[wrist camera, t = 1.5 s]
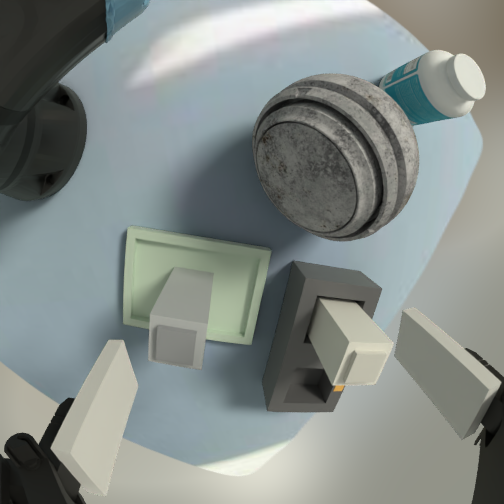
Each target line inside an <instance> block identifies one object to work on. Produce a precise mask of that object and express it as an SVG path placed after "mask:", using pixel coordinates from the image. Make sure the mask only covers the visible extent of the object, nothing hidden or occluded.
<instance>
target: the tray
mask: <svg viewBox="0 0 504 504" xmlns="http://www.w3.org/2000/svg"><path fill="white" fill-rule="evenodd" d="M271 252H272V251H271V250H270V248H267V247H261V246H255V245H249V244H243V243H237V242H231V241H224V240H218V239H212V238H206V237H200V236H194V235H188V234H182V233H175V232H169V231H163V230H157V229H151V228H144V227H138V226H130V227H128V229H127V240H126V253H125V269H124V294H123V324H126V325H130V326H135V327H140V328H145V329H149V323H150V313H151V311H152V309H153V307H154V305H155V303H156V301H157V299H158V297H159V295H160V294H161V292H162V290H163V288H164V286H165V284H166V282H167V280H168V278H169V276H170V275H171V273H172V271H173V269H174V267H181V268H187V269H193V270H199V271H205V272H211V273H214V276H213V284H212V293H211V301H210V310H209V319H208V327H207V334H206V339H208V340H215V341H222V342H229V343H237V344H245V345H251V343H252V339H253V334H254V330H255V325H256V321H257V316H258V312H259V307H260V303H261V298H262V294H263V289H264V284H265V280H266V275H267V270H268V266H269V261H270V256H271Z"/></svg>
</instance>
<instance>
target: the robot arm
mask: <svg viewBox="0 0 504 504" xmlns="http://www.w3.org/2000/svg"><path fill="white" fill-rule="evenodd" d="M149 3H150V0H0V193H2V194H4V195H7V196H10V197H12V198H15V199H18V200H23V201H32V200H37V199H42V198H46V197H48V196H51V195H52V194H54V193H56V192H57V191H58V190H60V189H61V188H62V187H63V186H64V185H65V184H66V183H67V182H68V180H69V179H70V178H71V176H72V175H73V173H74V172H75V170H76V168H77V166H78V164H79V162H80V159H81V157H82V154H83V150H84V147H85V142H86V134H87V122H86V114H85V110H84V107H83V104H82V102H81V100H80V99H79V97H78V96H77V94H76V93H75V92H74V91H73V90H71V89H70V88H68V87H66V86H64V85H62V84H60V83H58V82H59V81H60V80H61V79H62V78H63V77H64V76H65V75H66V74H67V73H68V72H69V71H70V70H71V69H73V68H74V67H75V66H76V65H77V64H78V63H79V62H81V61H82V60H83V59H84V58H85V57H87V56H88V55H89V54H90V53H91V52H93V51H94V50H95V49H96V48H98V47H99V46H100V45H102V44H103V43H104V42H105V43H107V42H108V41H110V40H111V38H112V36H113V35H114V34H115V33H116V32H118V31H119V30H120V29H121V28H122V27H124V26H125V25H126V24H128V23H129V22H131V21H132V20H133V19H135V18H136V17H138V16H139V15H140V14H141V13H142V12H143V11H144V10H145V9H146V8H147V6H148V5H149ZM394 356H395V357H396V359H397V360H398V361H399V362H400V363H401V365H402V366H403V367H404V368H405V369H406V371H407V372H408V373H409V374H410V375H411V377H412V378H413V379H414V380H415V382H416V383H417V384H418V385H419V386H420V388H421V389H422V390H423V391H424V393H425V394H426V395H427V396H428V398H429V399H430V400H431V401H432V402H433V404H434V405H435V406H436V407H437V409H438V410H439V411H440V413H441V414H442V415H443V416H444V417H445V419H446V420H447V421H448V423H449V424H450V425H451V427H452V428H453V429H454V430H455V432H456V433H457V434H458V435H459V437H460V438H461V439H462V440H463V439H465V438H466V437H468V436H470V435H472V434H473V433H475V431H476V430H477V428H478V426H479V425H480V423H482V425H483V426H484V428H483V430H482V431H481V433H480V434H479V436H478V438H477V439H476V441H475V444H474V445H477V443H478V442H479V440H480V439H481V443H480V455H479V464H478V471H477V478H476V484H475V490H474V495H473V500H472V504H504V377H503V376H502V375H501V374H500V373H499V372H498V371H496V370H495V369H494V368H493V367H492V366H491V365H488V363H487V362H486V361H485V360H483V358H482V357H480V356H479V355H478V354H477V353H476V352H474V351H472V350H470V349H467V348H465V349H464V348H462V346H460V345H459V344H458V343H457V342H456V341H455V340H453V339H452V338H451V337H450V336H449V335H447V334H446V333H445V332H444V331H443V330H442V329H440V328H439V327H438V326H437V325H436V324H434V323H433V322H432V321H431V320H429V319H428V318H427V317H426V316H424V315H423V314H422V313H421V312H420V311H418V310H417V309H416V308H410V309H406V310H403V311H402V318H401V324H400V329H399V334H398V340H397V344H396V350H395V354H394ZM137 389H138V383H137V380H136V377H135V374H134V371H133V369H132V365H131V362H130V359H129V356H128V353H127V350H126V347H125V343H124V340H108V342H107V344H106V345H105V347H104V349H103V350H102V352H101V354H100V355H99V357H98V359H97V361H96V362H95V364H94V366H93V368H92V369H91V371H90V373H89V375H88V376H87V378H86V380H85V382H84V384H83V385H82V387H81V389H80V391H79V393H78V395H77V396H76V398H75V399H74V398H67V399H66V400H65V401H64V402H63V403H61V404H60V405H59V407H58V409H57V411H56V413H55V416H53V418H52V420H51V423H50V424H49V426H48V427H47V429H46V431H45V433H44V435H43V437H42V439H41V441H40V443H39V445H38V444H37V442H36V441H35V439H34V438H33V437H32V436H31V435H29V434H26V433H17V434H15V435H13V436H11V437H10V438H9V439H8V440H7V442H6V444H5V447H4V452H5V453H6V454H7V455H8V457H9V458H10V459H8V458H3V457H2V455H1V454H0V504H86V503H85V501H84V499H83V497H82V496H81V494H80V493H79V488H80V485H81V486H82V487H83V488H84V489H85V490H86V491H87V492H88V493H92V494H97V495H102V496H106V494H107V490H108V487H109V483H110V479H111V475H112V472H113V468H114V464H115V461H116V457H117V454H118V450H119V446H120V443H121V440H122V436H123V433H124V430H125V426H126V423H127V420H128V417H129V414H130V410H131V407H132V404H133V401H134V398H135V395H136V392H137Z"/></svg>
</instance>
